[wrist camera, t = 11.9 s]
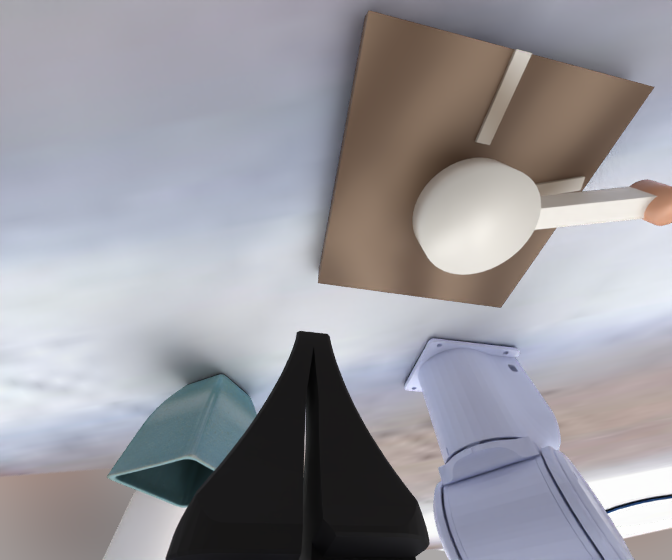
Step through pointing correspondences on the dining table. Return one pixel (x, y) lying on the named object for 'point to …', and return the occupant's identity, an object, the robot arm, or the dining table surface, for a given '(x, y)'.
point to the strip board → (456, 148)
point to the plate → (644, 527)
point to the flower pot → (185, 440)
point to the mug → (145, 529)
